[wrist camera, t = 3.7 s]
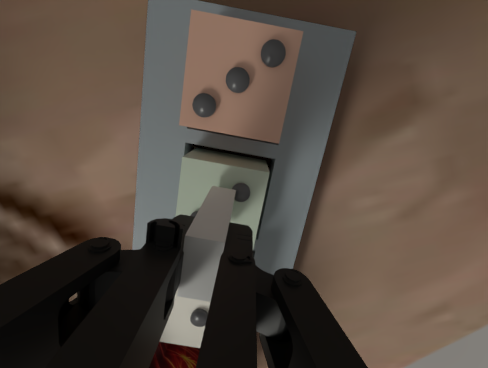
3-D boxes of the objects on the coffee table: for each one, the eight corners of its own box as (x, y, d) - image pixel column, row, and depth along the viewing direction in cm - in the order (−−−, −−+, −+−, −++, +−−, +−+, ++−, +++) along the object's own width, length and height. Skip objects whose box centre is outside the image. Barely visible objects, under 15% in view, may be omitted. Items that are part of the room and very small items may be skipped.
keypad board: (140, 290, 24) (128, 309, 22) (162, 7, 18) (148, -10, 15) (272, 312, 25) (275, 334, 22) (342, 42, 18) (356, 31, 16)
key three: (195, 122, 18) (177, 125, 13) (206, 35, 16) (189, 6, 12) (272, 136, 18) (279, 144, 13) (290, 51, 16) (304, 29, 12)
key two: (188, 212, 21) (171, 238, 17) (196, 147, 20) (180, 157, 15) (252, 223, 21) (253, 252, 17) (265, 160, 20) (270, 173, 15)
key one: (173, 298, 22) (154, 344, 17) (180, 242, 20) (161, 277, 16) (236, 309, 22) (233, 357, 17) (248, 253, 20) (247, 292, 16)
